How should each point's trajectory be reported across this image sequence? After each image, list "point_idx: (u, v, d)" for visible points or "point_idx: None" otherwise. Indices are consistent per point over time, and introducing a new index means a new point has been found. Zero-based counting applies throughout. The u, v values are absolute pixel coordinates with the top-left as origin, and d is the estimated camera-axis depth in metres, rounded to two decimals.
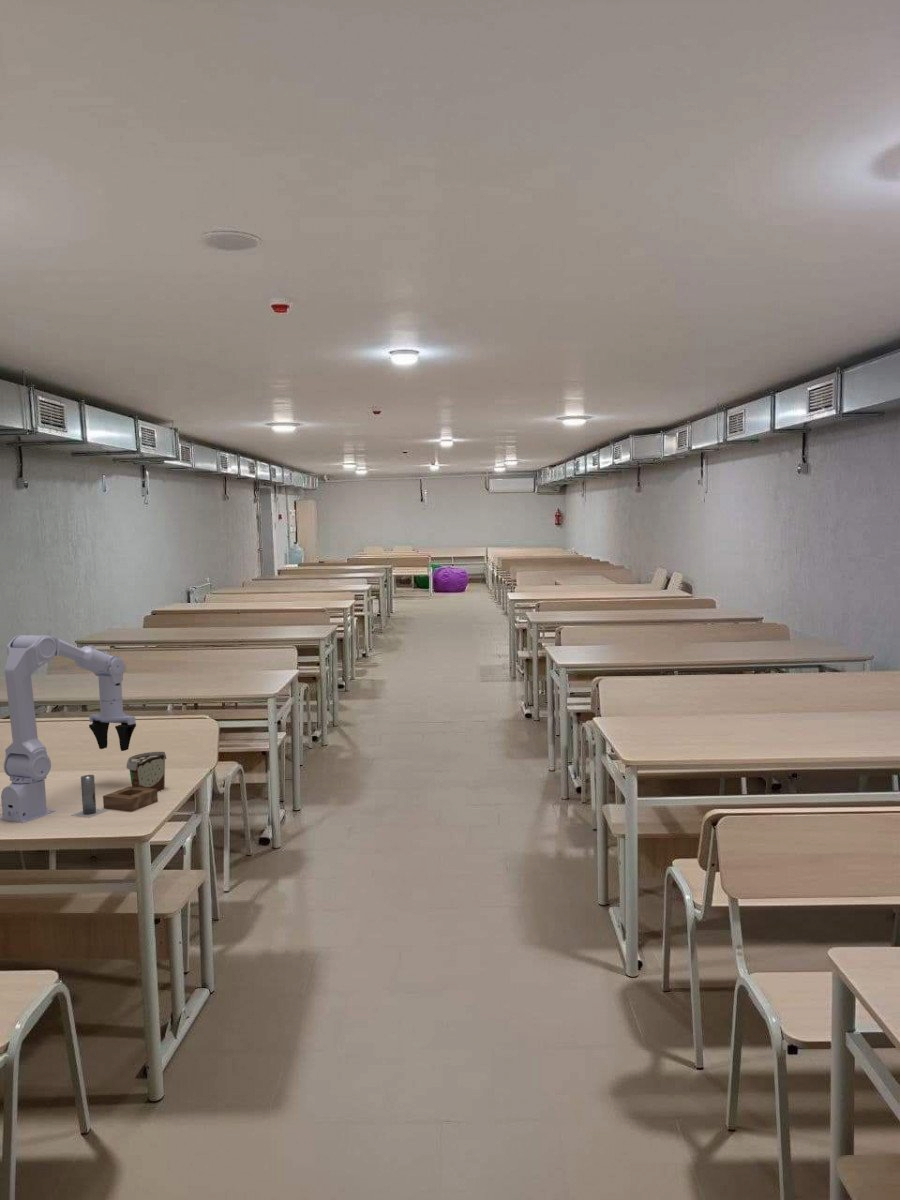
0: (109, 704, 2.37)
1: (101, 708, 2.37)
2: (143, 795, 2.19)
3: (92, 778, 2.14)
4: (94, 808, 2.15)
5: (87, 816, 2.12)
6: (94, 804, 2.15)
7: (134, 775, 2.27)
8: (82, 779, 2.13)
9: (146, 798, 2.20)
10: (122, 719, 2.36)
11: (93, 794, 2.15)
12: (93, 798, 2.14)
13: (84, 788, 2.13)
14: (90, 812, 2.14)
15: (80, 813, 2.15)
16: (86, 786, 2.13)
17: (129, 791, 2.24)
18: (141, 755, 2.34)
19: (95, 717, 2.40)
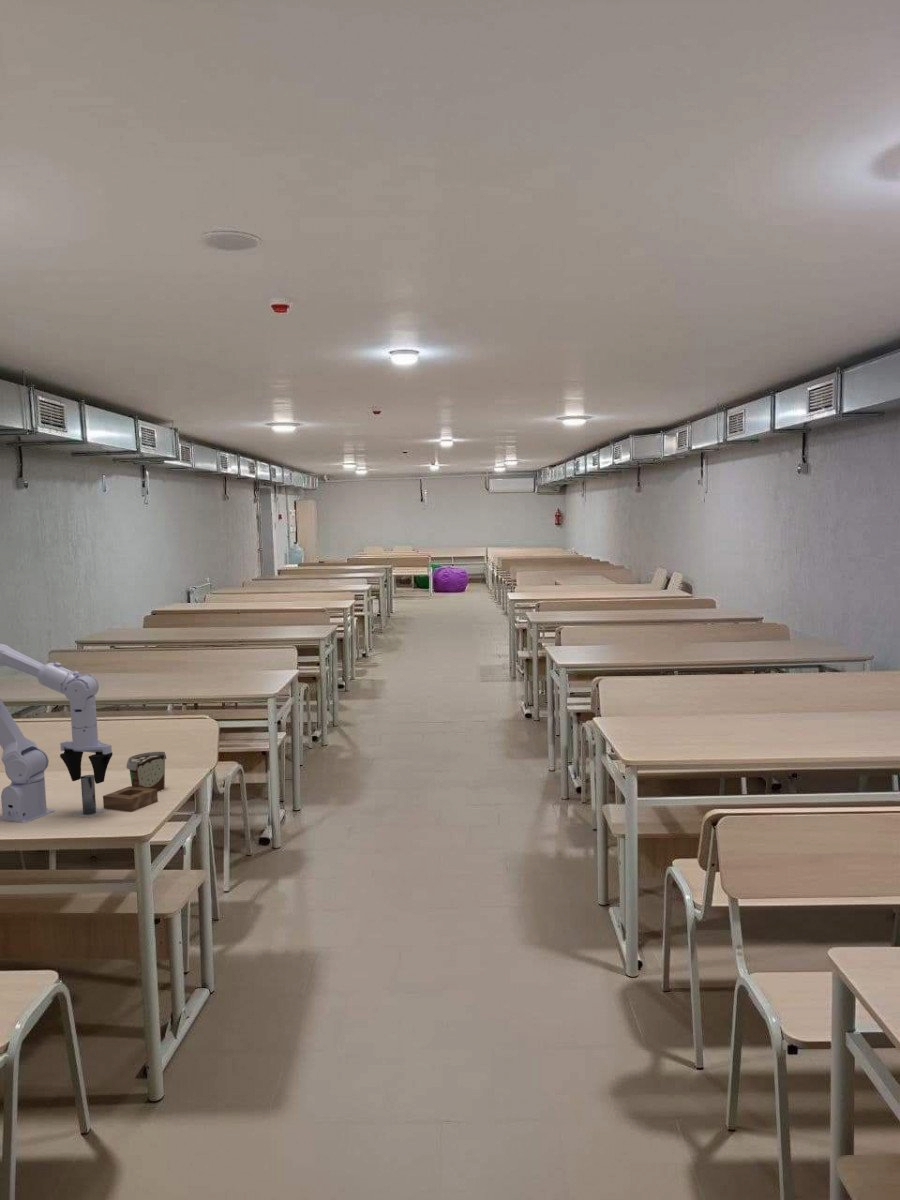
0: (82, 731, 2.11)
1: (73, 736, 2.12)
2: (143, 795, 2.19)
3: (92, 778, 2.14)
4: (94, 808, 2.15)
5: (87, 816, 2.12)
6: (94, 804, 2.15)
7: (134, 775, 2.27)
8: (82, 779, 2.13)
9: (146, 798, 2.20)
10: (96, 748, 2.11)
11: (93, 794, 2.15)
12: (93, 798, 2.14)
13: (84, 788, 2.13)
14: (90, 812, 2.14)
15: (80, 813, 2.15)
16: (86, 786, 2.13)
17: (129, 791, 2.24)
18: (141, 755, 2.34)
19: (67, 745, 2.14)
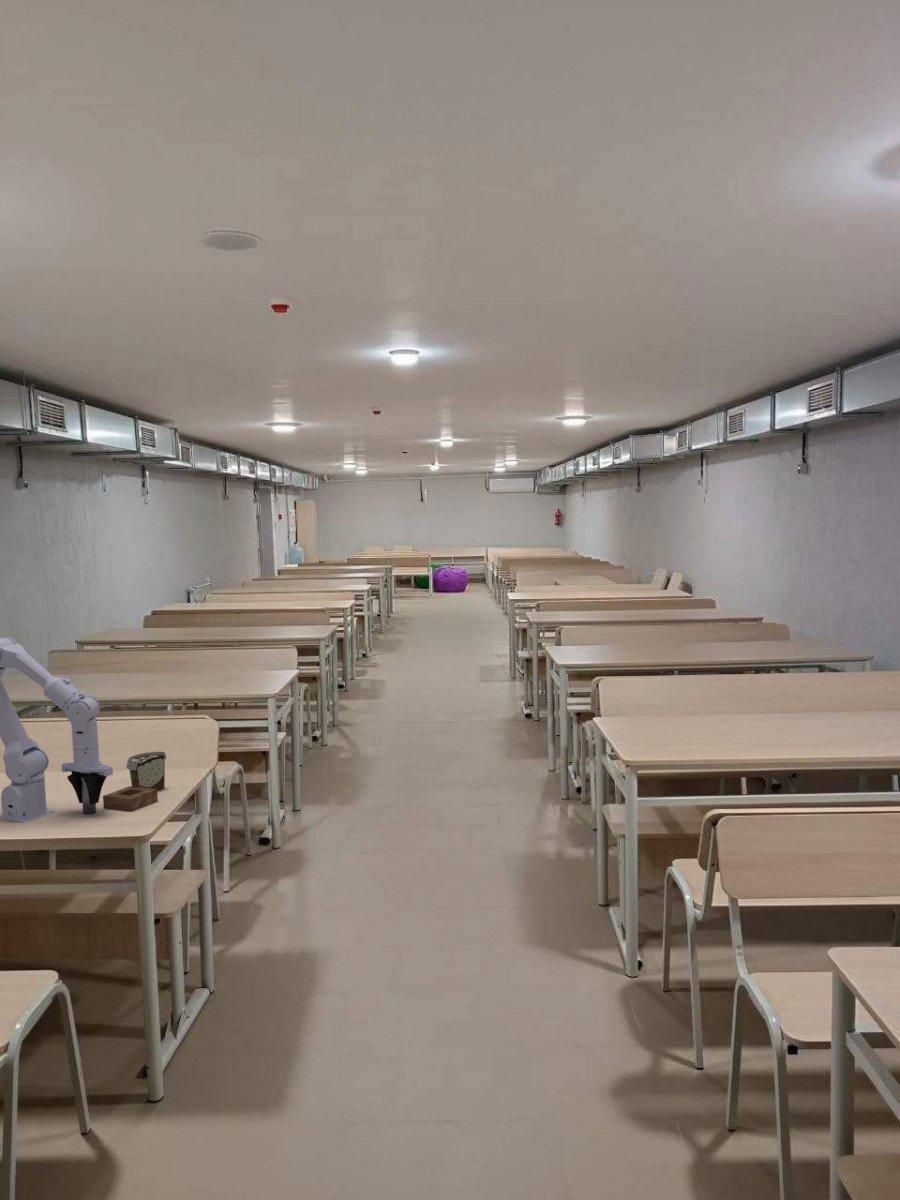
0: (83, 753, 2.11)
1: (74, 757, 2.12)
2: (143, 795, 2.19)
3: None
4: (94, 808, 2.15)
5: (87, 816, 2.12)
6: (94, 804, 2.15)
7: (134, 775, 2.27)
8: (82, 779, 2.13)
9: (146, 798, 2.20)
10: (98, 770, 2.11)
11: None
12: None
13: (84, 788, 2.13)
14: (90, 812, 2.14)
15: (80, 813, 2.15)
16: (86, 786, 2.13)
17: (129, 791, 2.24)
18: (141, 755, 2.34)
19: (68, 767, 2.15)
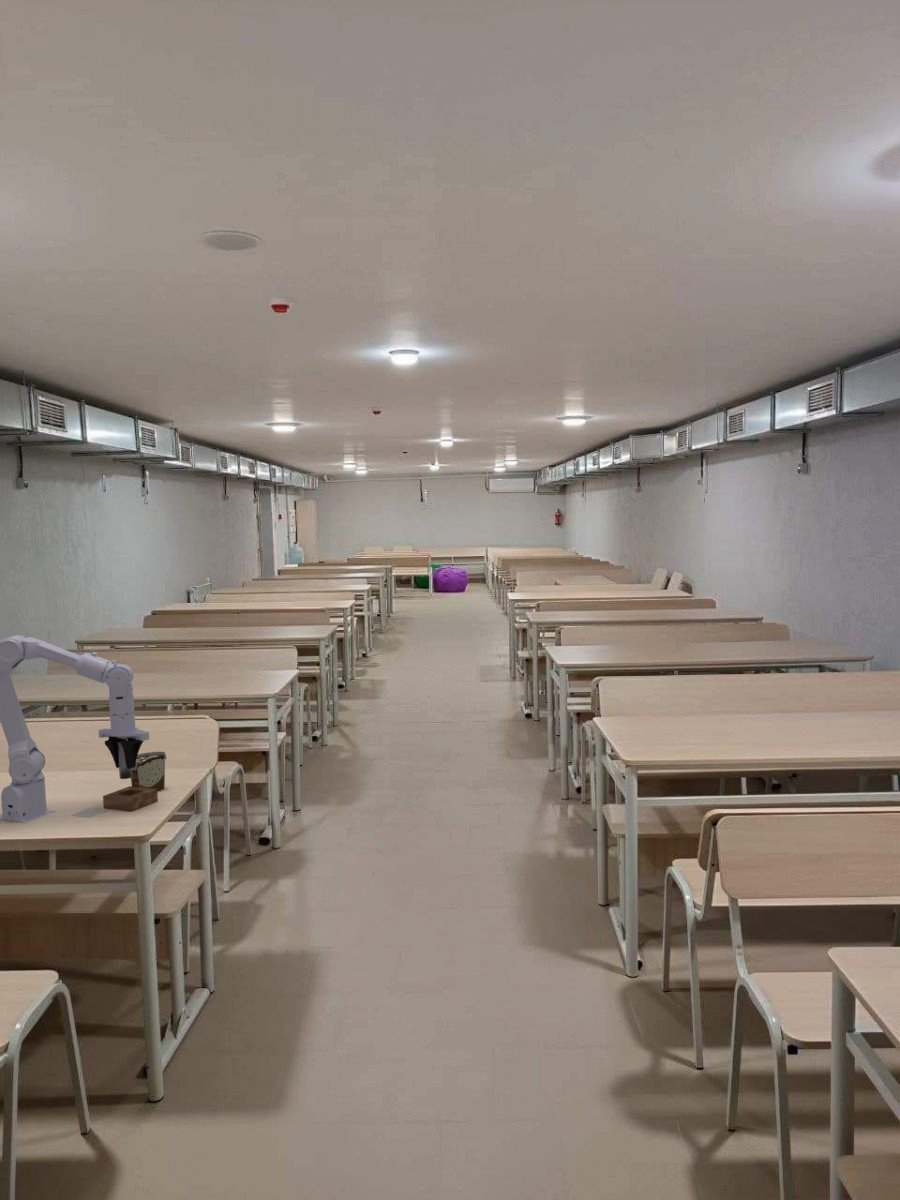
0: (120, 718, 2.16)
1: (111, 723, 2.17)
2: (143, 795, 2.19)
3: None
4: (130, 773, 2.19)
5: (87, 816, 2.12)
6: (130, 769, 2.19)
7: (134, 775, 2.27)
8: (118, 744, 2.18)
9: (146, 798, 2.20)
10: (135, 735, 2.16)
11: None
12: None
13: (120, 753, 2.18)
14: (126, 776, 2.19)
15: (80, 813, 2.15)
16: (123, 751, 2.18)
17: (129, 791, 2.24)
18: (141, 755, 2.34)
19: (105, 732, 2.19)
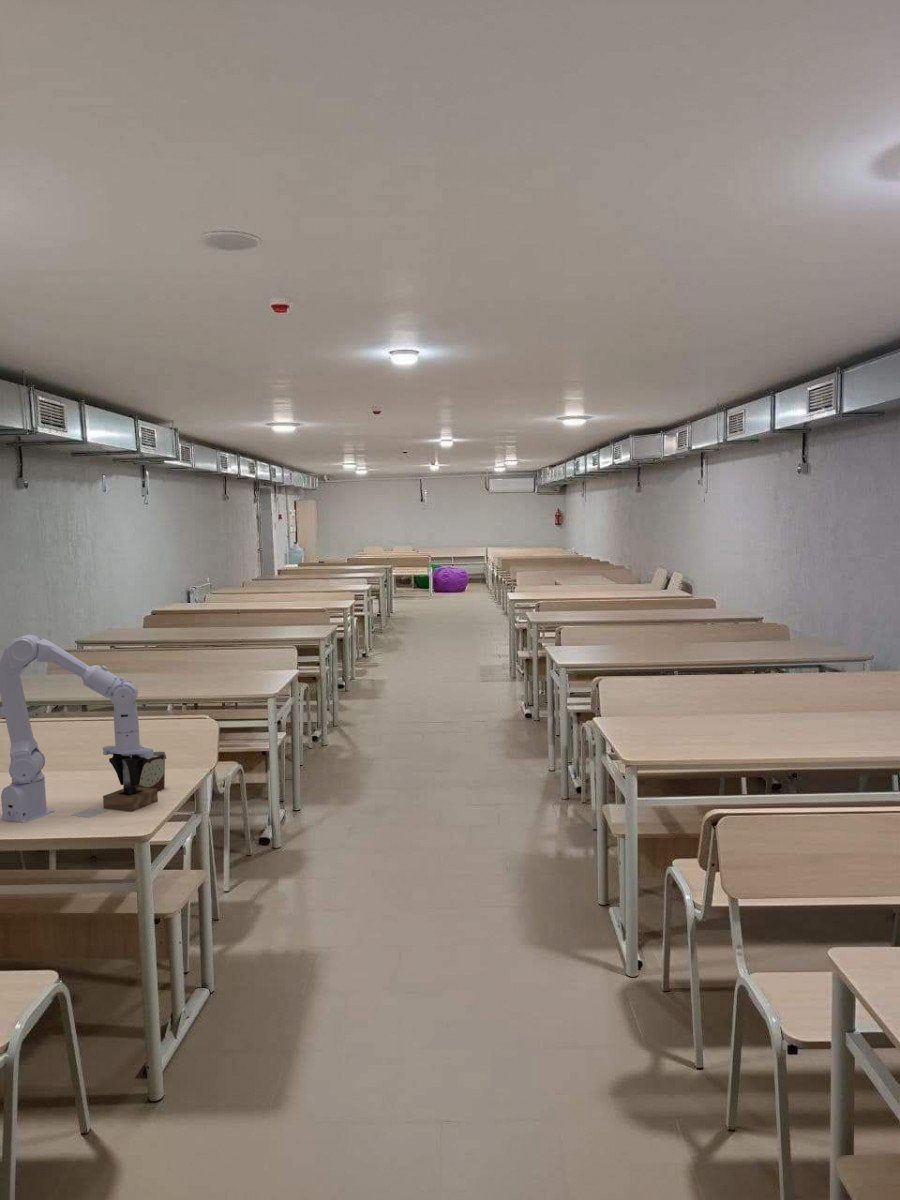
0: (125, 736, 2.17)
1: (116, 740, 2.18)
2: (143, 795, 2.19)
3: None
4: (135, 790, 2.20)
5: (87, 816, 2.12)
6: (135, 786, 2.20)
7: None
8: (123, 761, 2.19)
9: (146, 798, 2.20)
10: (139, 752, 2.17)
11: None
12: None
13: (125, 770, 2.19)
14: (131, 794, 2.19)
15: (80, 813, 2.15)
16: (127, 768, 2.19)
17: None
18: None
19: (109, 750, 2.20)
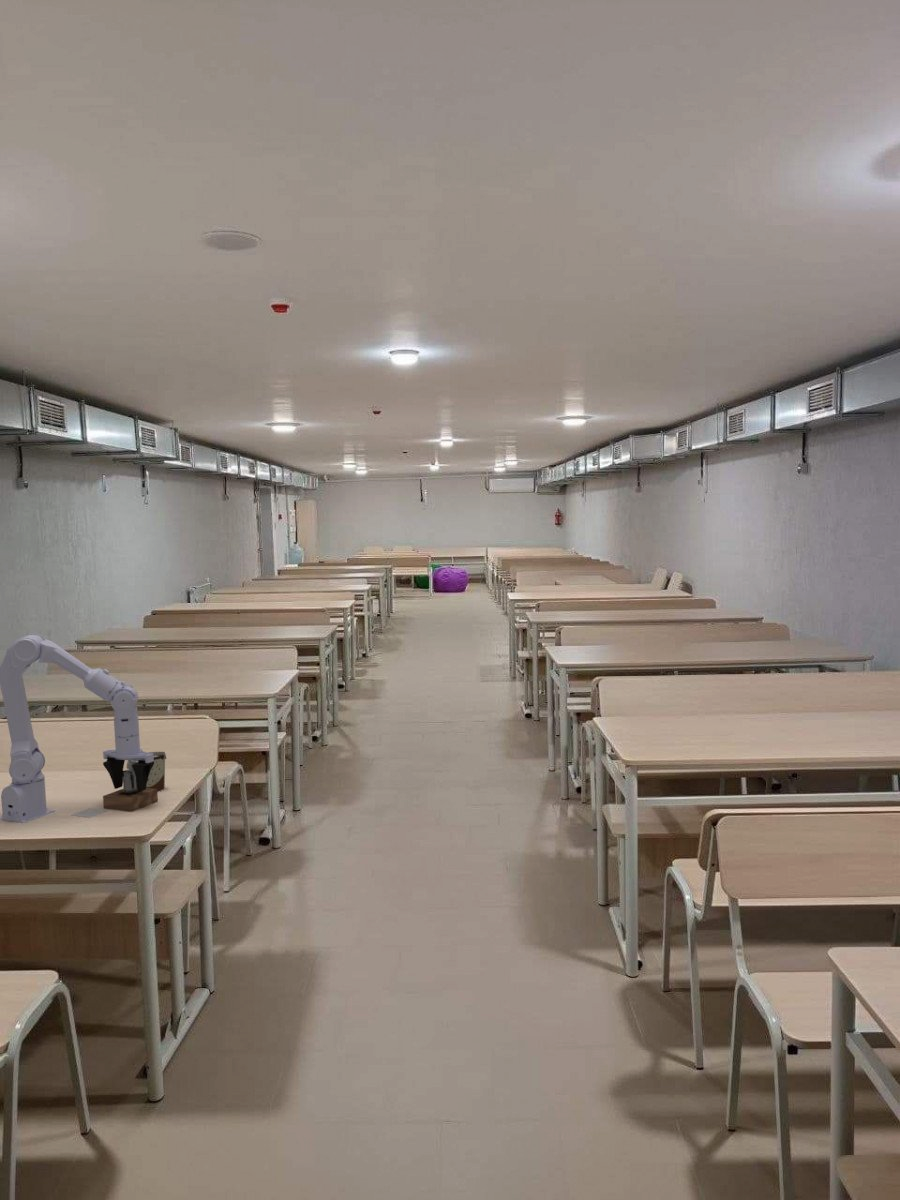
0: (125, 740, 2.17)
1: (116, 745, 2.18)
2: (143, 795, 2.19)
3: (133, 772, 2.20)
4: None
5: (87, 816, 2.12)
6: None
7: None
8: (124, 773, 2.19)
9: (146, 798, 2.20)
10: (139, 757, 2.17)
11: (134, 788, 2.20)
12: (134, 792, 2.20)
13: (126, 782, 2.19)
14: None
15: (80, 813, 2.15)
16: (128, 780, 2.19)
17: None
18: None
19: (110, 754, 2.20)
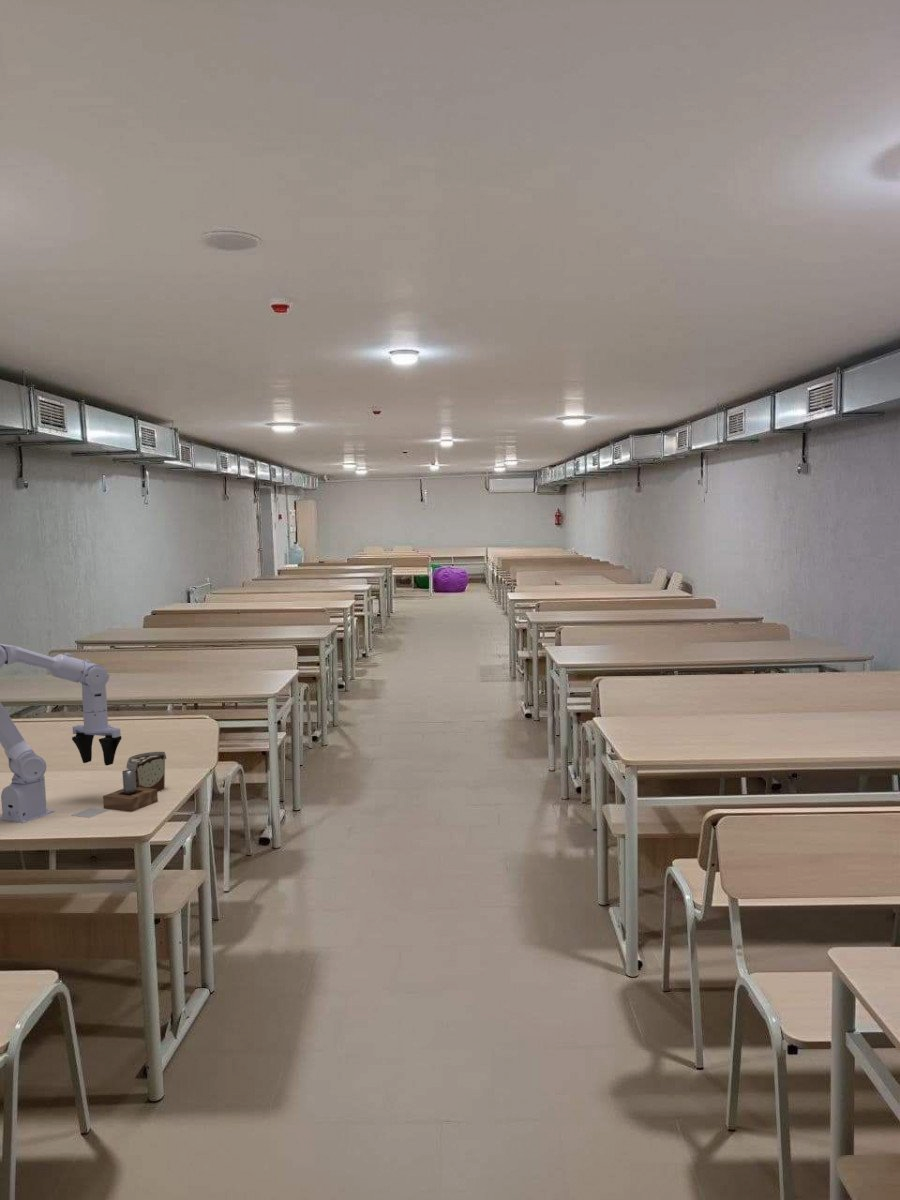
0: (93, 715, 2.22)
1: (84, 720, 2.23)
2: (143, 795, 2.19)
3: (133, 772, 2.20)
4: None
5: (87, 816, 2.12)
6: None
7: None
8: (124, 773, 2.19)
9: (146, 798, 2.20)
10: (106, 731, 2.22)
11: (134, 788, 2.20)
12: (134, 792, 2.20)
13: (125, 782, 2.19)
14: None
15: (80, 813, 2.15)
16: (128, 780, 2.19)
17: None
18: (141, 755, 2.34)
19: (78, 729, 2.25)
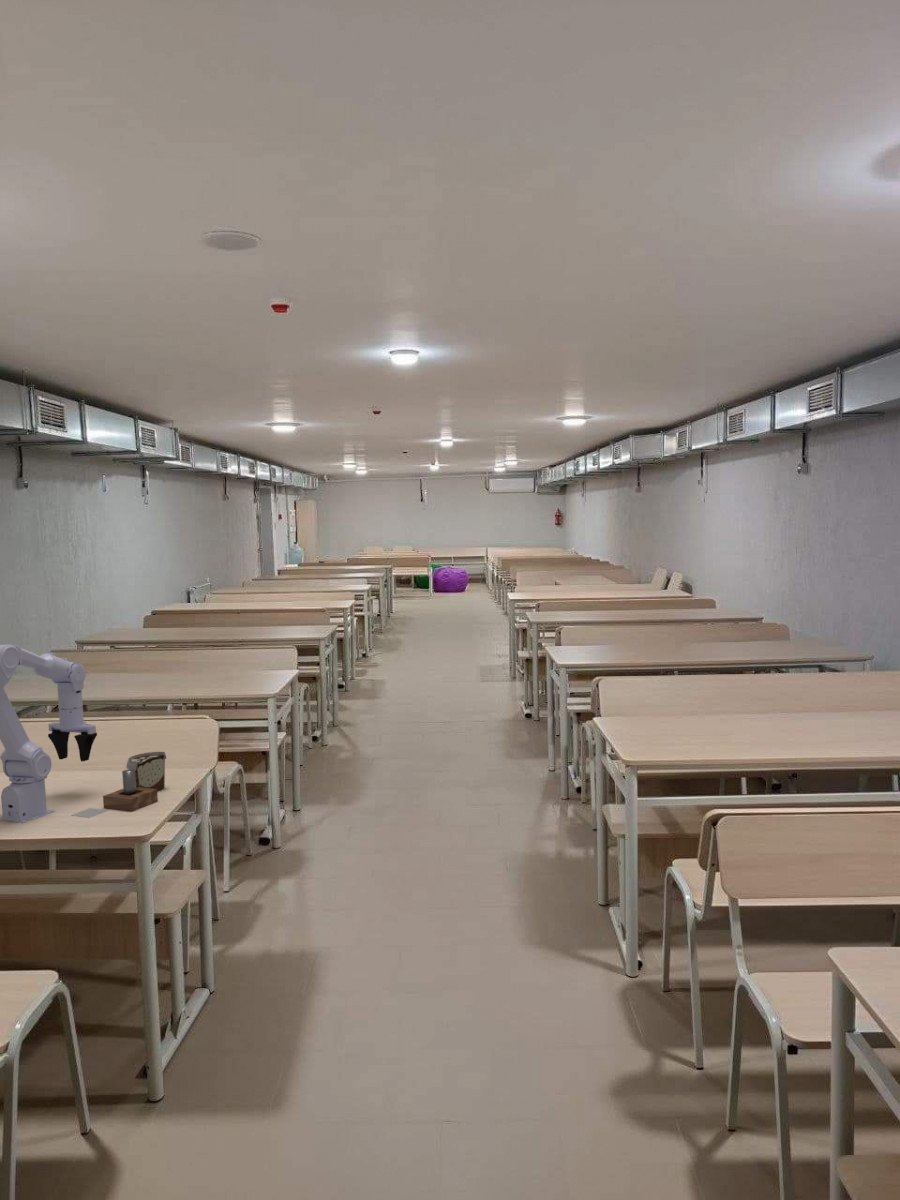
0: (68, 713, 2.27)
1: (60, 717, 2.28)
2: (143, 795, 2.19)
3: (133, 772, 2.20)
4: None
5: (87, 816, 2.12)
6: None
7: None
8: (123, 773, 2.19)
9: (146, 798, 2.20)
10: (82, 728, 2.27)
11: (134, 788, 2.20)
12: (134, 792, 2.20)
13: (125, 782, 2.19)
14: None
15: (80, 813, 2.15)
16: (128, 780, 2.19)
17: None
18: (141, 755, 2.34)
19: (54, 726, 2.30)
